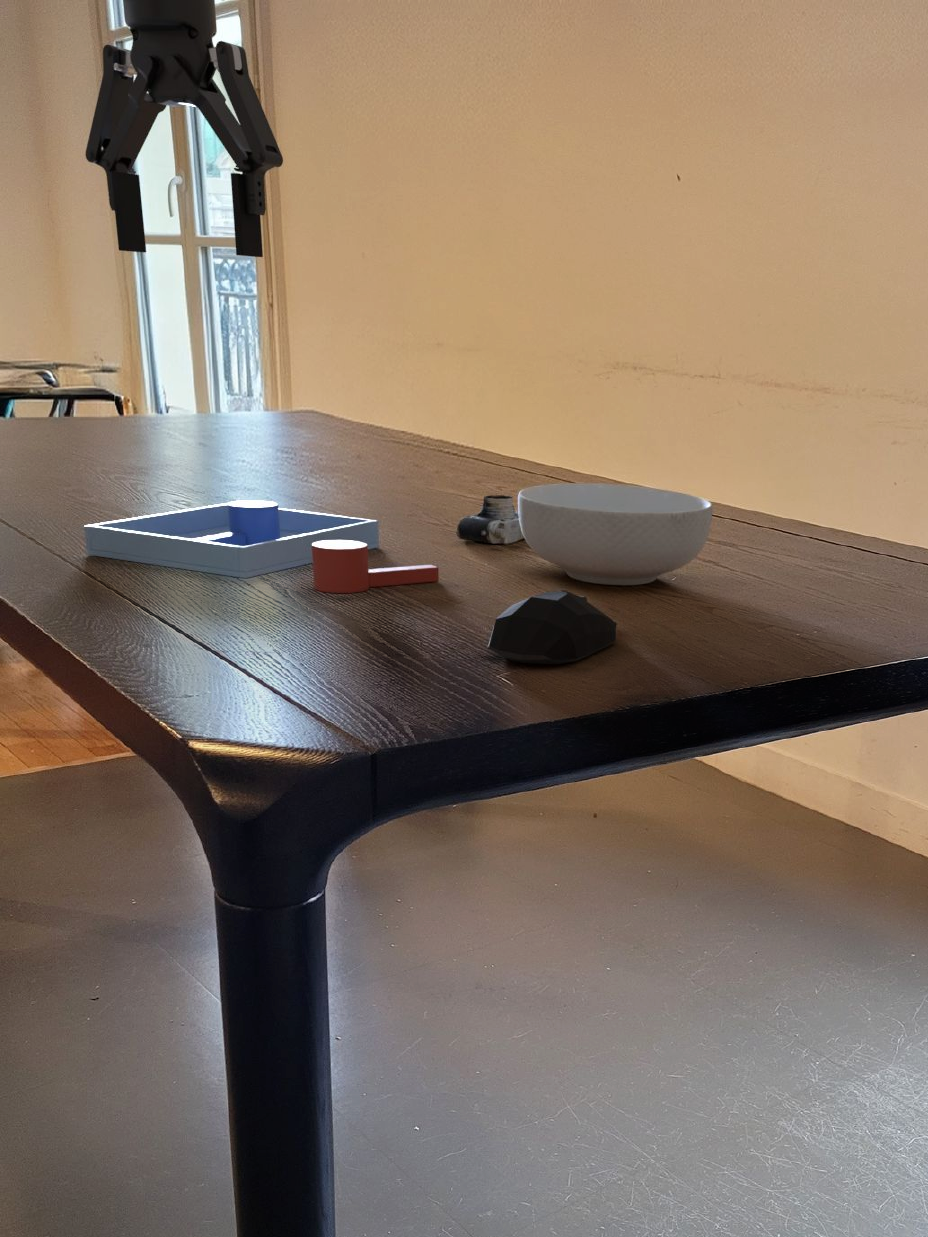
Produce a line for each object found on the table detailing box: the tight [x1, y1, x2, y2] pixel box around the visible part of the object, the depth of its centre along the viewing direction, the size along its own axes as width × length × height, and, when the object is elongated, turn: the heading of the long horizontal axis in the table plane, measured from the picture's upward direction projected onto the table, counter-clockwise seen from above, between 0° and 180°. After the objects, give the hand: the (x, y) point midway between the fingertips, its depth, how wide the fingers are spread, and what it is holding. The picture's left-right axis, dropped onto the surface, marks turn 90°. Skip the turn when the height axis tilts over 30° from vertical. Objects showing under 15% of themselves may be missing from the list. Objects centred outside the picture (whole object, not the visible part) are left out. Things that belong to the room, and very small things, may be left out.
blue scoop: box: [193, 499, 280, 546], centre depth 116 cm, size 11×4×4 cm, turn 156°
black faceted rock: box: [487, 589, 618, 665], centre depth 90 cm, size 6×15×4 cm, turn 154°
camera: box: [455, 494, 525, 545], centre depth 131 cm, size 5×10×4 cm, turn 152°
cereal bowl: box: [517, 482, 714, 586], centre depth 114 cm, size 17×17×7 cm
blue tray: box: [83, 502, 380, 579], centre depth 118 cm, size 17×19×2 cm
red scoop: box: [312, 540, 440, 594], centre depth 106 cm, size 11×4×4 cm, turn 126°
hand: (190, 254), depth 119 cm, fingers open, 13 cm apart
